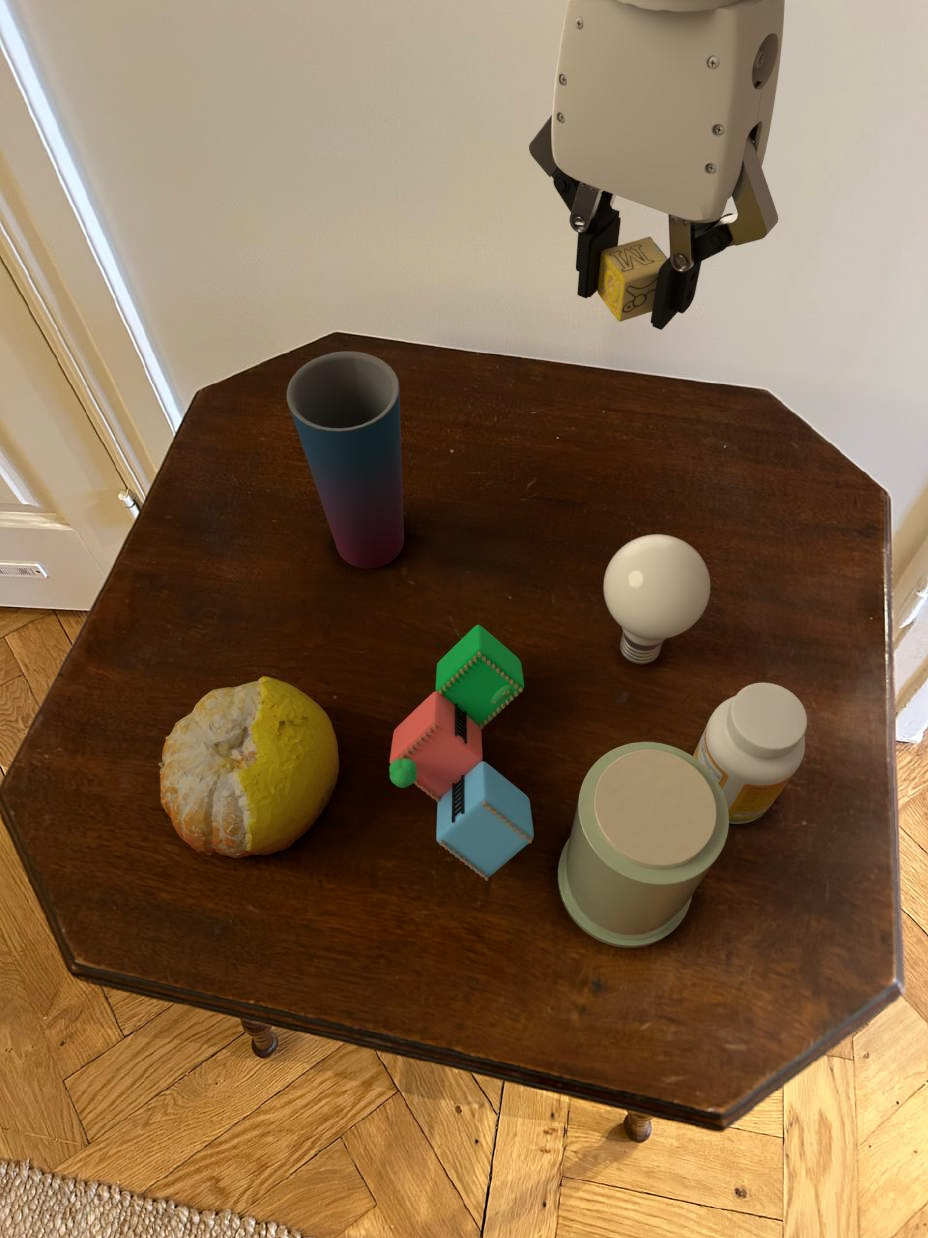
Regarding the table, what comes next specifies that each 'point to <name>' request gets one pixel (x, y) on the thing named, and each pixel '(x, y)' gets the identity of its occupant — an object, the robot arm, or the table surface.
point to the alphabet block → (630, 277)
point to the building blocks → (466, 754)
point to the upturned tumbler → (641, 843)
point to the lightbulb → (655, 593)
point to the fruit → (249, 769)
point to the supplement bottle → (754, 747)
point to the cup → (353, 451)
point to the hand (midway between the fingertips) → (632, 296)
